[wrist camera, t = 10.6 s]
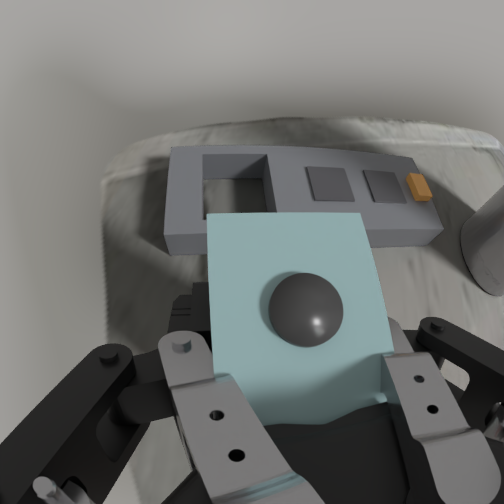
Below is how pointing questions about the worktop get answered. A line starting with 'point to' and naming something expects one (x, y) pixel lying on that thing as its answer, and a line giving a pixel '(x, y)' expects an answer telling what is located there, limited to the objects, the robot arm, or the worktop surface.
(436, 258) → the worktop surface
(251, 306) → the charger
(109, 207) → the worktop surface
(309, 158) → the power strip
